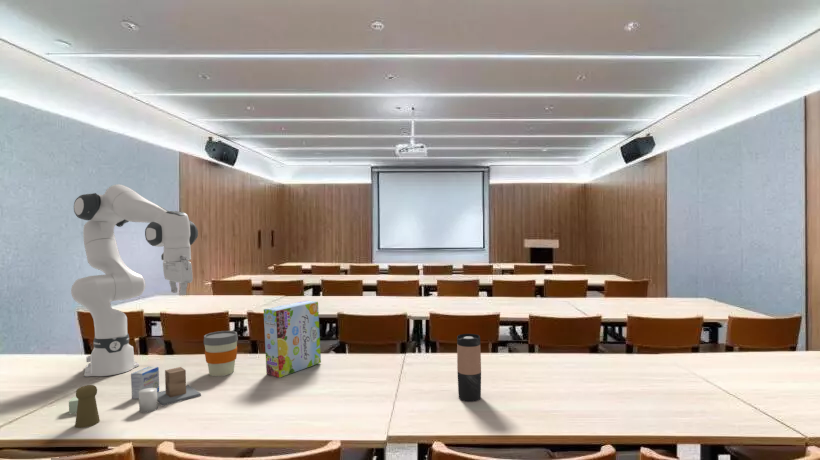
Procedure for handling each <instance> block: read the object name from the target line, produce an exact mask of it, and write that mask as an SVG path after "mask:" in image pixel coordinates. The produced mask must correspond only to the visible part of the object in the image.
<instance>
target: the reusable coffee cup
mask: <svg viewBox="0 0 820 460" xmlns="http://www.w3.org/2000/svg"><path fill="white" fill-rule="evenodd" d="M238 341H239V337H238V332H237V331H235V330H234V331H233V330H221V331H219V330H218V331H214V332H209V333H206V334H205V335H203V345H204V348H205V349H204V357H205V362H206V363H207V367H208V375H209V376H210V377H224V376H229V375H231V374H233V373H235V365H236V364H235V363H236V360H237V355H238V346H237V345H238Z"/></svg>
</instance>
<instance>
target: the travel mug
mask: <svg viewBox="0 0 820 460" xmlns="http://www.w3.org/2000/svg"><path fill="white" fill-rule="evenodd" d="M456 340H457V341H456V345H457V347H456V352H457V353H456V358H457V360H456V362H457V364H456V365H457V372H456V373H457V385H458V386H457V389H458V399H459V400H461V401H463V402H468V403H469V402H471V403H473V402H477V401H480V400H481V397H482V356H481V355H482V353H481V350H482V349H481V336H480V335H479V334H475V333H462V334H458V335H457V337H456Z"/></svg>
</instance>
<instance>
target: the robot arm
mask: <svg viewBox="0 0 820 460" xmlns="http://www.w3.org/2000/svg"><path fill="white" fill-rule="evenodd" d="M73 212H74V214H75V216H76V217H77V219H81V220H84V221H87V222H85V224H84V225H83V229H82V230H83V231H82V233H83V235H82V237H83V244H84V250H85V254H86V259H87V264H89V266H91V268H93V269H96V270H98V271H101V272H103V273H104V274H98V275H97V274H96V275H88V276H85V277H81V278H78V279H76V280H75V281H74V282H73V283H72V286H71V288H70V290H71V291H70V292H71V293H70V294H71V297H72V298H73V300H74V301H75V302H76V303H78V304H79V305H81V306H83V307H84V308H85V309H87V310H88V312H89V313H90V315H91V317H92V319H93V326H94V338H93V341H92V342H93V343H92V344H93V350H92V351H91V354H90V355H88V356H86V363H87V365H85V368H84V374H83V377H107V376H115V375H118V374H123V373H126V372H129V371H131V370H132V369H134V368H136V367H139V366H140V363H139V362H136V361H135V352H134V346H133V345H131V344H130V334H129V333H128V317H127V314H126V313H124V312H123V311H121V310H119V309H116V308H113V307H112V306H111V302H117V301H126V300H130V299H134V298H137V297H140V296H142V295H143V293H144V292H145V289H146V280H145V278H144V276H142V274H140V273H138V272H136V271H134V270H133V269H131V268H130V267H128V266H127V265H126V263H125V262H124V260H123V258H122V256H121V255H120V252H119V247H118V244H117V240H116V236H115V231H114V230H115V227H118V228H121V227H123V226H124V225H125V224H127V223H129V222H132V223H146V224H147V223H148V224H147V226H146V227H145V230H144V237H145V240H146V242H147V243H148V244H149V245H151V246H152V247H158V248H161V247H163V252H162V254H161V257H160V259H161V261H162V269H163V276H164V279H165V280H166V281H168V282H169V286H170V292H171V293H172V294H176V293H178V285H177V283H179V286H180V289H179V295H180V296H187V289H188V284H191V283H192V282H193V278H194V277H193V276H194V275H193V265H192V262H191V260H192V251H191V250H192V249H191V247H192V246H193V244H194V243H195V242H196V241H197V238H198V237H199V230H198V227H197V226H196V224H195V223H194V222H193V221H192V220H190V218H189V216H188V214H187V213H186V212H184V211H177V210H168V209H166V208H165V207H162V206H160V205H157V204H156V203H154V202H152V201H150V200H149V199H147V198H145V197H144V196H142V195H140V194H139V193H138V192H137V191H135V190H133V188H130V187H128V186H126V185H123V184H120V183H119V184H113V185H111V186H109V187H107V189H106V191H105V192H104V194H97V193H96V192H94V193H84V194H80V195H79V196H78V197H76V198H75V200H74V203H73ZM191 245H192V246H191Z"/></svg>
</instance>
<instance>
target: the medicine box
mask: <svg viewBox="0 0 820 460" xmlns="http://www.w3.org/2000/svg"><path fill="white" fill-rule="evenodd" d="M159 369H160V367H158V366H147V367H143V368H142V369H139V370H137V371H135V372H131V374H130V385H131V399H135V400H136V399H137V400H139V391H140V390H143V389H146V388H157V392H160V374H159V373H160V371H159Z"/></svg>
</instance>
